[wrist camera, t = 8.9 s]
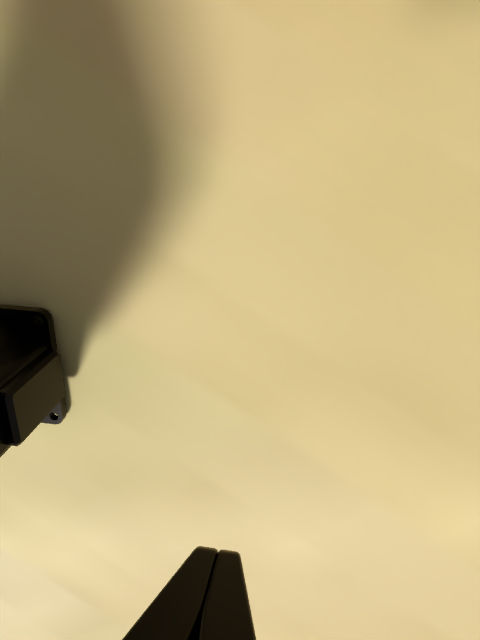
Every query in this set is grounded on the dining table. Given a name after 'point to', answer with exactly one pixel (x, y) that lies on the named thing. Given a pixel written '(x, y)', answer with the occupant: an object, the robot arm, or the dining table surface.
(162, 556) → the dining table surface
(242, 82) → the dining table surface
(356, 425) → the dining table surface
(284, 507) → the dining table surface
